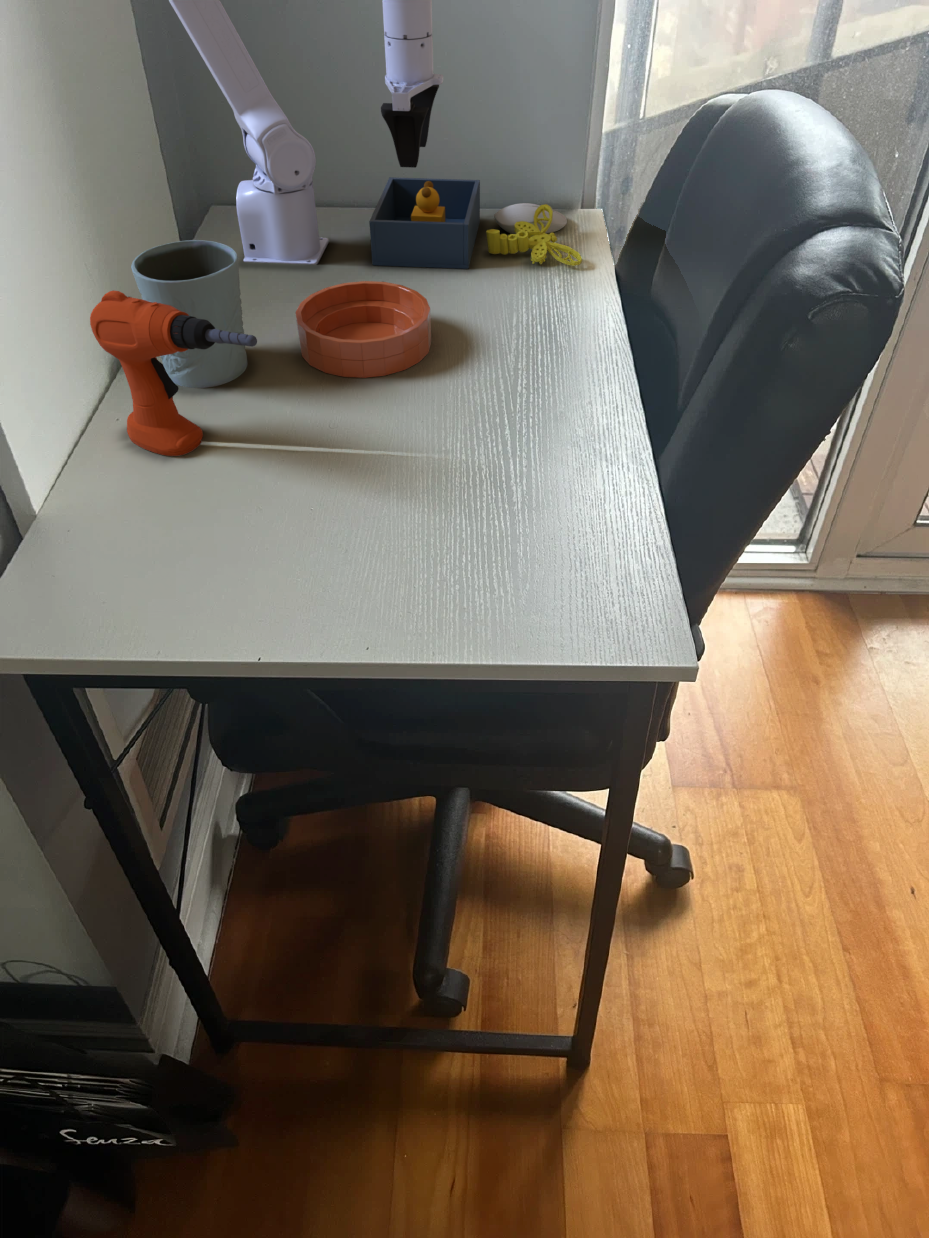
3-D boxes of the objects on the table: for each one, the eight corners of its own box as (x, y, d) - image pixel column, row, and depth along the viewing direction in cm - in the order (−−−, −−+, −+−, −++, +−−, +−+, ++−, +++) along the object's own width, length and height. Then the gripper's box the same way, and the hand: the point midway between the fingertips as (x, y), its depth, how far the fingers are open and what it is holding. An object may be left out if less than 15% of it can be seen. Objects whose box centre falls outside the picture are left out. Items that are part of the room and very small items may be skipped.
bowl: (287, 378, 99) (281, 339, 96) (317, 316, 109) (312, 278, 106) (421, 385, 98) (419, 345, 95) (438, 321, 108) (437, 283, 105)
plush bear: (412, 243, 122) (409, 188, 118) (415, 233, 125) (413, 179, 120) (442, 244, 122) (441, 189, 117) (445, 234, 125) (444, 180, 120)
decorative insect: (508, 290, 117) (583, 267, 118) (506, 268, 114) (583, 245, 115) (476, 231, 124) (548, 210, 125) (474, 209, 121) (547, 188, 122)
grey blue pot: (147, 392, 97) (116, 280, 89) (175, 345, 104) (149, 237, 96) (244, 395, 97) (222, 282, 88) (265, 347, 104) (247, 239, 95)
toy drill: (274, 481, 83) (226, 319, 74) (121, 449, 91) (60, 299, 82) (306, 454, 86) (264, 294, 77) (155, 425, 94) (100, 277, 85)
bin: (372, 265, 119) (369, 221, 115) (391, 218, 130) (389, 177, 126) (468, 269, 118) (468, 224, 114) (479, 221, 129) (479, 180, 125)
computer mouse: (571, 232, 126) (572, 209, 124) (499, 240, 124) (500, 217, 122) (557, 216, 130) (559, 193, 128) (488, 223, 128) (488, 200, 126)
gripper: (433, 50, 106) (436, 177, 115) (449, 20, 116) (451, 138, 125) (371, 49, 106) (379, 175, 116) (393, 19, 116) (399, 137, 126)
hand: (413, 156), depth 120 cm, fingers open, 7 cm apart
